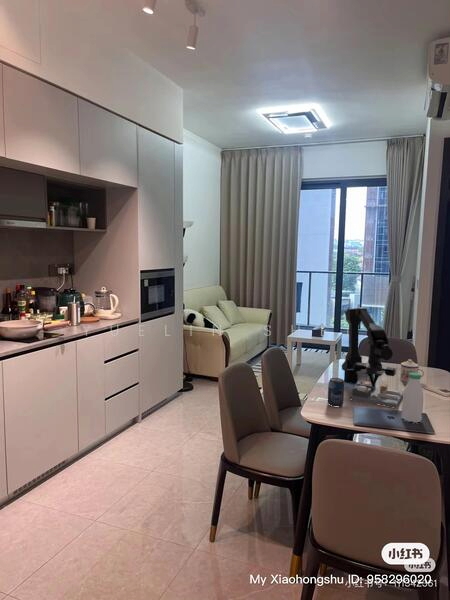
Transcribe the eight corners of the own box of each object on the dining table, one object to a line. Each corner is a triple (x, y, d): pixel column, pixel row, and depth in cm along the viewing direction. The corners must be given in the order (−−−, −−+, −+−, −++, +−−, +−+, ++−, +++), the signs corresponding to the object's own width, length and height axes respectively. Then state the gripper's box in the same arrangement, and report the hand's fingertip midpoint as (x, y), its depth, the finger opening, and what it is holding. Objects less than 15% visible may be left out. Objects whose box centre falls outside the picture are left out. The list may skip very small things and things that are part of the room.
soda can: (331, 408, 191) (332, 382, 190) (324, 402, 198) (326, 377, 197) (345, 407, 193) (347, 381, 191) (338, 402, 200) (340, 377, 198)
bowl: (351, 368, 258) (352, 354, 257) (378, 373, 249) (379, 358, 248) (341, 374, 245) (342, 359, 244) (370, 379, 236) (370, 364, 235)
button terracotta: (361, 388, 214) (361, 383, 213) (362, 386, 218) (363, 381, 217) (370, 390, 212) (370, 385, 211) (371, 387, 215) (372, 382, 215)
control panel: (349, 399, 203) (349, 390, 203) (358, 388, 220) (359, 379, 220) (396, 408, 193) (397, 398, 192) (402, 395, 210) (403, 386, 210)
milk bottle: (420, 425, 174) (423, 377, 172) (399, 421, 178) (403, 374, 176) (422, 419, 181) (426, 373, 179) (403, 415, 185) (406, 370, 183)
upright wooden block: (379, 394, 204) (380, 385, 203) (381, 392, 208) (382, 383, 208) (385, 395, 203) (385, 386, 202) (387, 392, 207) (387, 384, 206)
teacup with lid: (398, 381, 233) (400, 360, 232) (400, 377, 242) (401, 356, 240) (423, 385, 228) (424, 363, 227) (423, 380, 236) (425, 359, 235)
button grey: (355, 392, 204) (356, 387, 204) (358, 390, 208) (358, 385, 208) (365, 394, 202) (365, 389, 202) (367, 391, 206) (367, 386, 205)
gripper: (351, 355, 203) (349, 387, 205) (393, 361, 194) (390, 394, 196) (356, 351, 213) (355, 381, 215) (397, 356, 204) (394, 388, 205)
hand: (373, 386), depth 207 cm, fingers closed
